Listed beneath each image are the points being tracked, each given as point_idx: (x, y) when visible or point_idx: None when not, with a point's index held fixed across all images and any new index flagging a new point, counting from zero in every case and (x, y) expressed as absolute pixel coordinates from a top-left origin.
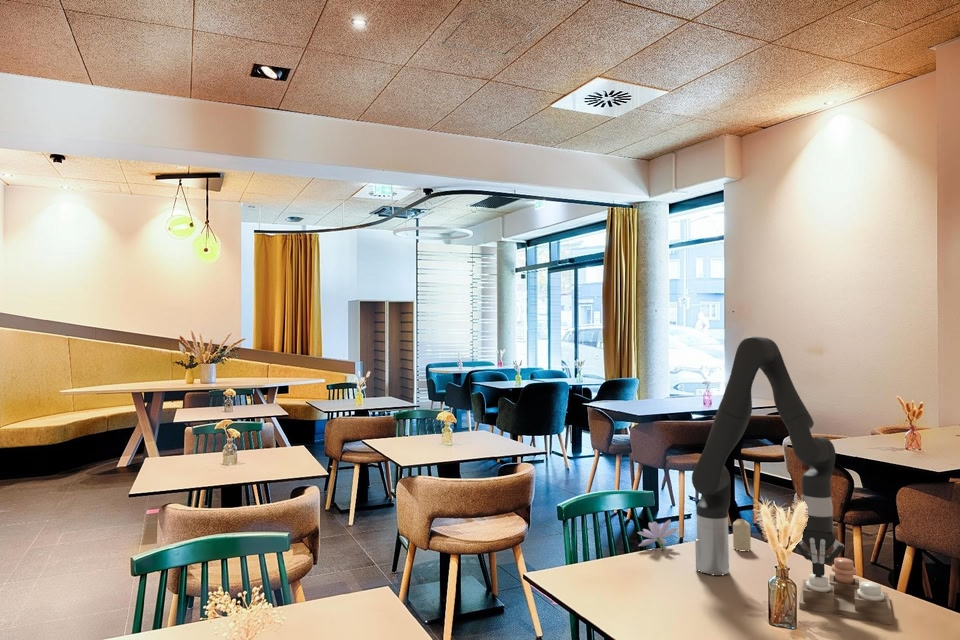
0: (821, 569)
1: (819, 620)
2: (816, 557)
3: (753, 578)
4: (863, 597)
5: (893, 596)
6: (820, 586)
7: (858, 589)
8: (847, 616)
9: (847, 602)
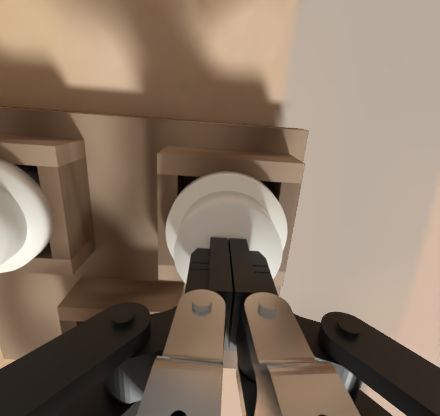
0: (208, 272)
1: (230, 16)
2: (255, 337)
3: (416, 345)
4: (12, 167)
5: (6, 361)
6: (218, 191)
7: (37, 240)
8: (121, 115)
9: (118, 217)
